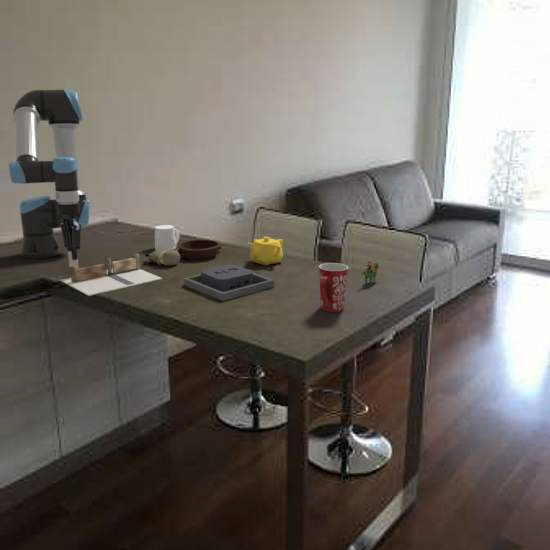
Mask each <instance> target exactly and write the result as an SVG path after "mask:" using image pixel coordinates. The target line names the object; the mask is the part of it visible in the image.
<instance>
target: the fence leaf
mask: <svg viewBox="0 0 550 550" xmlns="http://www.w3.org/2000/svg"><path fill="white" fill-rule="evenodd" d="M69 270H70V271H69V272H70V278H71V282H76V281H81V280H85V279H90V278H95V277H100V276H104V275H107V270H108V269H107V263H100V264H95V265H90V266H89V265H88V266H84V267H79V268H76V267H75V266H71V267H70V266H69Z"/></svg>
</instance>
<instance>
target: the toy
mask: <svg viewBox="0 0 550 550" xmlns="http://www.w3.org/2000/svg"><path fill="white" fill-rule="evenodd" d="M177 251H178V250H177V249H176V250H175V249H173V250H166V251H163V250H158V251H157V250H155V251H152V252H151V253H149V252H148V253H147V254H145V255H144V257H146V258H147V259H148V261H149V262H151V261H153V262H154V263H157V264H158V265H159V266H161V265H162V264H163V265H164V266H175V265H177V264H179V263H180V260H181V258H180V254H179V253H178V252H177Z"/></svg>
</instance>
